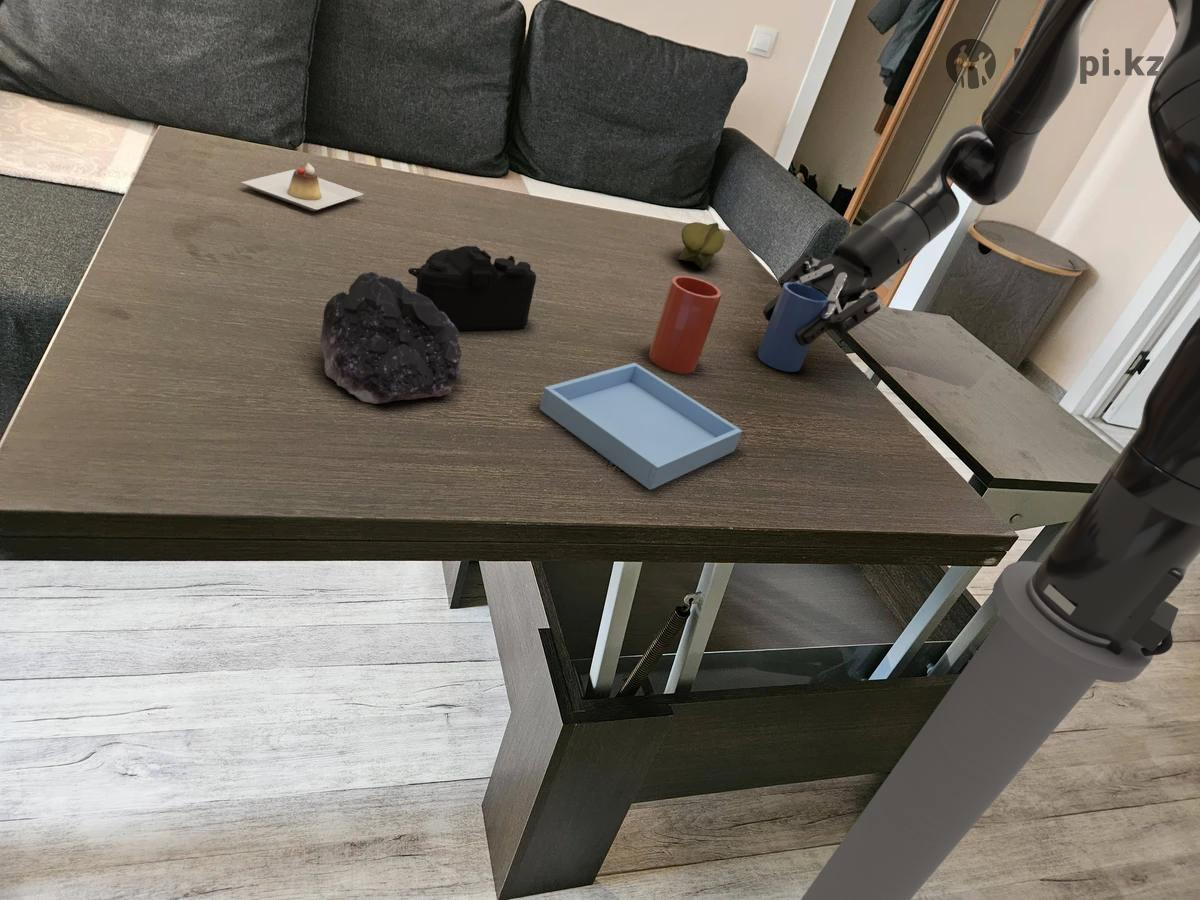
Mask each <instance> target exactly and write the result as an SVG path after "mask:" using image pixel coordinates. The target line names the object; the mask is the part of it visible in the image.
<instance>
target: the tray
mask: <svg viewBox="0 0 1200 900" xmlns="http://www.w3.org/2000/svg"><path fill="white" fill-rule="evenodd" d="M539 411H541V412H542V413H544V414H545V415H546V416H548V417H549V418H551V419H552V420H553V421H555V422H556V423H557V424H559V425H560V426H561V427H563V428H565V430H567V431H568V432H569V433H571V434H573V435H574V436H575V437H576V438H578V440H581V441H582V442H583V443H585V444H586V445H587V446H589V447H590V448H592V449H593V450H595V451H596V452H597V453H598V454H600V455H601V456H602V457H604V458H605V459H606V460H608V461H610V462H611V463H612V464H613V465H615V466H616V467H618V468H619V469H621V470H622V471H623V472H624V473H626V474H627V475H629V476H630V477H631V478H633V479H634V480H635V481H637V482H638V483H640V484H641V485H642V486H643V487H645V488H646V489H648V490H649V491H651V490H653V489H656V488H658V487H660V486H662V485H664V484H667V483H669V482H671V481H673V480H675V479H677V478H680V477H682V476H684V475H685V474H688V473H690V472H692V471H695V470H697V469H699V468H701V467H703V466H706V465H707V464H709V463H712V462H715V461H716V460H719V459H721V458H723V457H725V456H727V455H730V454H731V453H734V452H735V451H736V448H737V445H738V443H739V441H740V438H741V437H742V436H741V435H742V433H743V430H742V429H741V428H739V427H738V426H736V425H735V424H733V423H731V422H730V421H728V420H727V419H725V418H724V417H722V416H720V415H718V414H717V413H716V412H714V411H712V410H711V409H709V408H707V407H706V406H705V405H703V404H701V403H700V402H698V401H697V400H695V399H693V398H692V397H690V396H689V395H687V394H685V393H684V392H682V391H681V390H679V389H677V388H676V387H674V386H673V385H671V384H670V383H669V382H667V381H665V380H663V379H662V378H660V377H659V376H657V375H656V374H654V373H652V372H651V371H650V370H648V369H647V368H645V367H643V366H641V365H639V364H638V363H636V362H632V363H628V364H625V365H621V366H617V367H614V368H609V369H606V370H602V371H598V372H595V373H592V374H588V375H585V376H580V377H577V378H574V379H569V380H566V381H562V382H559V383H555V384H551V385H548V386H544V389H543V392H542V395H541V400H540V405H539Z"/></svg>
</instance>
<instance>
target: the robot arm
mask: <svg viewBox="0 0 1200 900" xmlns="http://www.w3.org/2000/svg"><path fill="white" fill-rule="evenodd" d="M1094 2H1095V0H1043V2H1042V4H1041V8H1040V10H1039V11H1038V14H1037V16H1036V19H1035V21H1034V23H1033V25H1032V28H1031V30H1030V33H1029V35H1028V37H1027V39H1026V40H1025V43H1024V44H1023V47H1022V48H1021V50H1020V51H1019V54H1018V56H1017V57H1016V59H1015V60H1014V62H1013V63H1012V65H1011V67H1010V68H1009V70H1008V71H1007V73H1006V74H1005V76H1004V78H1003V79H1002V80H1001V82H1000V84H999V85H998V87H997V88H996V90H995V91H994V93H993V95H992V96H991V98H990V99H989V100H988V102H987V104H986V105H985V107H984V109H983V111H982V113H981V117H980V118H981V119H980V122H981V123H980V124H975V123H973V124H968V125H964V126H963V127H960V128H959V129H958V130H956V131H955V132H953V134H951V136H949V138H948V140H947V141H946V142H945V144H944V145H943V146H942V148H941V150H940V151H939V152H938V154H937V155H936V157H935V159H934V160H933V162H931V164H930V165H929V167H928V168H927V169H926V170H925V172H924V173H923V174H922V175H921V176H920V178H919V179H918V180H916V182H915V183H914V184H912V185H911V186H910V187H909V188H908V189H907V190H906V191H904V192H903V193H902V194H900V195H899V197H897V198H896V199H895V200H894V201H892V202H891V203H890V204H889V205H887V206H885V207H884V208H882V209H881V210H879V211H878V212H876V213H875V214H874V215H872V217H870V218H868V220H866V221H865V222H864V223H863V224H861V226H859V227H858V228H857V229H855V230H854V231H853V232H852V233H851V234H849V235H848V236H847V237H845V239H843V240H842V241H841V242H840V243H839V244H837V246H836V248H835V250H834V252H833V253H832V254H831V256H829V257H826V258H823V259H822V260H821V259H817V258H814V257H813V254H812V252H811V251H806V252H804V253H803V254H802V255H801V256H800V257H799V258H798V259H797V260H796V261H795V262H794V263H793V264H792V265H791V266H790V267H789V268H788V269H787V270H786V271H785V272H784V273H783V274H782V275H781V276H780V277H779V278H778V284H779V286H780V289H781V290H782V287H783V285H784V283H786V282H797V283H801V284H804V285H808V286H810V284H811V287H813V288H815V289H816V290H818V291H820V292H822V293H823V294H824V295H825V296H827V301H828V303H827V305H826V306H825V308H824V309H823V311H822V313H821V317H818V316H816V317H815V318H814V319H812V320H811V321H810V322H809V323H808V324H806V325H805V326H804V327H803V328H802V329H800V330H799V331H798V332H797V333H796V335H795V337H796V340H797V342H798V344H800V345H801V346H805V345H806V344H807V345H808V344H810V343H811V344H812V343H814V342H815V341H816V340H817V339H818V338H820V337H821V336H822V335H823V334H825V333H826V332H827V331H832V330H835V331H838V333H839V334H840V335H841V334H842V335H843V334H846V333H848V332H849V331H851V330H852V329H853V328H855V327H857V326H859V324H861V323H863V322H864V321H865V320H867V319H868V318H871V316H873V315H874V314H876V313H877V312H879V311H880V310H881V304H880V298H879V297H878V293H877V292H876V291H875V290H876V289H878V288H879V287H881V285H883V284H884V283H885V282H886V281H888V279H890V278H891V277H893V275H895V274H896V273H897V272H898V271H899V270H900V269H902V268H904V266H905V265H907V264H908V263H909V262H910V261H912V260H913V259H914V258H915V257H916V256H917V255H919V253H920V252H921V251H922V250H923V248H925V246H927V245H928V244H929V243H930V242H932V241H933V240H934V239H935V238H937V236H939V235H940V234H942V232H944V231H946V229H947V228H948V227H949V226H951V225H952V224H953V223H954V222H955V221H956V220H957V218H958V217H959V214H960V211H961V210H960V209H961V208H960V202H959V199H958V197H957V195H956V193H955V192H954V190H953V189H952V187H951V185H950V183H949V182H948V180H949V181H951V182H952V183H953V184H954V185H955V186H956V187H957V188H959V190H961V191H962V192H963V193H964V194H966V196H967V197H968V198H969V199H971V200H972V201H973V202H974V203H976V204H978V205H980V206H993V205H996V204H999V203H1001V202H1002V201H1004V200H1006V199H1007V198H1008V197H1009V196H1010V195H1011V194H1012V193H1013V192H1014V191H1015V190H1016V189H1017V187H1018V185H1019V184H1020V183H1021V181H1022V179H1023V177H1024V174H1025V173H1026V169H1027V167H1028V165H1029V161H1030V158H1031V155H1032V153H1033V150H1034V149H1033V148H1034V147H1035V144H1036V142H1037V140H1038V137H1039V135H1040V133H1041V132H1042V131H1043V129H1044V128H1045V126H1046V125H1047V124H1048V123H1049V121H1051V119H1052V117H1053V116H1054V115H1055V114H1056V112H1057V111H1058V110H1059V109H1060V107H1061V106H1062V104H1063V103H1064V102H1065V101H1066V99H1067V97H1068V96H1069V94H1070V92H1071V90H1072V89H1073V86H1074V83H1075V81H1076V79H1077V75H1078V71H1079V62H1080V61H1079V60H1080V32H1081V25H1082V22H1083V19H1084V16H1085V15H1086V13H1087V11H1088V10H1089V8H1090V7H1091V5H1092V4H1093V3H1094ZM1167 2H1168V4H1169V7H1170V10H1171V13H1172V18H1173V22H1174V27H1175V35H1174V39H1173V41H1172V43H1171V46H1170V48H1169V49H1168V51H1167V53H1166V55H1165V57H1164V59H1163V61H1162V63H1161V65H1160V67H1159V69H1158V71H1157V73H1156V76H1155V78H1154V81H1153V83H1152V87H1151V89H1150V93H1149V96H1148V102H1147V114H1148V121H1149V125H1150V130H1151V133H1152V138H1153V140H1154V143H1155V148H1156V150H1157V154H1158V158H1159V161H1160V164H1161V166H1162V168H1163V171H1164V174H1165V176H1166V178H1167V180H1168V182H1169V184H1170V185H1171V187H1172V189H1173V190H1174V191H1175V193H1176V195H1177V196H1178V198H1179V199H1180V200H1181V201H1182V203H1183V204H1184V205H1185V206H1186V208H1187V209H1188V210H1189V212H1190V213H1191V214H1192V215H1193V217H1194V218H1195V219H1196V220H1197V222H1198V223H1199V224H1200V0H1167ZM779 295H780V293H779V294H778V295H776V296H775V297H774V298H773V299H772V300H770V301H769V302H768V303H767V304H766V305H765V306H764V309H763V311H762V313H763V315H764V318H765V320H766V321H768V322H769V321H770V319H771V316H772V313H773V311H774V308H775V306H776V303H777V300H778V298H779ZM853 302H854V303H853ZM850 303H852V304H850ZM849 304H850V305H849ZM1190 327H1191V328H1190V329H1189V330H1188V331H1187V333H1186V334H1185V336H1184V337H1183V339H1182V341H1181V342H1180V343H1179V345H1178V347H1177V348H1176V350H1175V352H1174V353H1173V355H1172V356H1171V357H1170V360H1169V361H1168V363H1167V365H1166V367H1165V368H1164V369H1163V371H1162V372H1161V374H1160V376H1159V377H1158V379H1157V381H1156V382H1155V384H1154V385H1153V387H1152V388H1151V390H1150V391H1149V393H1148V396H1147V397H1146V400H1145V402H1144V406H1143V408H1142V414H1141V420H1140V423H1139V426H1138V428H1137V429H1136V430H1135V432H1134V433H1133V435H1132V436H1131V438H1130V439H1129V441H1128V442H1127V443H1126V445H1125V446H1124V448H1123V449H1122V450H1121V452H1120V453H1119V455H1118V456H1117V458H1116V459H1115V460H1114V462H1113V463H1112V464H1111V466H1110V468H1108V471H1107V472H1106V473H1105V475H1104V476H1103V477H1102V478H1101V480H1100V481H1099V482H1098V484H1097V486H1096V487H1095V489H1094V490H1093V492H1092V493H1091V494H1090V496H1088V498H1087V500H1086V501H1085V502H1084V504H1083V506H1082V507H1080V509H1079V511H1078V512H1077V513H1076V515H1075V516H1074V518H1073V519H1072V521H1071V522H1070V523H1069V525H1068V526H1067V527H1066V529H1065V530H1064V532H1063V533H1062V535H1061V536H1060V537H1059V539H1058V540H1057V542H1055V545H1054V546H1053V547H1052V548H1051V550H1050V551H1049V553H1048V555H1047V556H1046V557H1045V558H1044V560H1043V561H1042V562H1041V563H1042V564H1041V565H1040V566H1039V568H1038V569H1037V571H1036V572H1035V573H1034V574H1033V575H1032V576H1031V578H1030V579H1029V581H1028V582H1027V585H1026V591H1027V594H1028V597H1029V598H1030V600H1031V602H1032V603H1033V605H1034V606H1035V607H1036V608H1037V610H1038V611H1039V612H1040V613H1041V614H1042V615H1043V616H1044V617H1046V618H1047V619H1048V620H1049V621H1050V622H1052V623H1053V624H1054V625H1055V626H1057V627H1058V628H1060V629H1061V630H1063V631H1064V632H1066V633H1068V634H1069V635H1071V636H1073V637H1075V638H1077V639H1079V640H1081V641H1084V642H1086V643H1089V644H1092V645H1095V646H1098V647H1103V648H1106V649H1108V650H1110V651H1111V652H1113V653H1114V654H1116V655H1119V654H1120V653H1121V652H1122V651H1123V650H1124V648H1125V647H1126V646H1127V645H1128V644H1129V642H1130V641H1131V640H1133V641H1135V642H1136V643H1138V644H1140V645H1141V646H1143V648H1141V652H1142V654H1143V655H1144V656H1152V655H1153V656H1160V655H1164V654H1165V653H1167V652H1168V651H1170V650H1171V649H1172V647H1173V644H1174V640H1173V639H1174V638H1173V634H1172V628H1173V626H1174V623H1175V620H1176V617H1177V615H1178V612H1179V610H1180V609H1179V607H1176V606H1175V605H1173V604H1171V603H1170V602H1168V601H1166V600H1167V599H1168V598H1169V596H1170V595H1172V593H1173V592H1174V591H1175V589H1176V588H1177V587H1178V586H1179V584H1181V583H1182V582H1183V580H1184V578H1185V575H1186V573H1187V570H1188V569H1189V567H1190V566H1191V565H1192V564H1193V562H1195V560H1197V558H1198V556H1199V555H1200V316H1199V317H1198V318H1197V319H1196V321H1195V322H1194V323H1193V324H1192V326H1190Z"/></svg>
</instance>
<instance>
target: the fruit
mask: <svg viewBox="0 0 1200 900" xmlns="http://www.w3.org/2000/svg"><path fill="white" fill-rule="evenodd" d="M681 241H682V243H683V245H684V247H683V248H682V250H681V252H680V254H679V257H678V260H681V261H686V262H693V263H694V264H695V265H697V267H698V268H700V269H701V270H704V269H705V268H706V267H707V266H709V264H710V263H711V261H712V259H713V257H714V256H715V254H717V253H719V252H720V251H721V250H722V249H723V246H724V243H725V234H724V233H723V232H722V231H721V229H720V227H719V223H718V222H713V223H708V224H707V223H703V222H698V221H695V222H690V223H687V224H685V225H684V227H683V228H682V229H681Z"/></svg>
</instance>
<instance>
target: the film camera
mask: <svg viewBox="0 0 1200 900" xmlns="http://www.w3.org/2000/svg"><path fill="white" fill-rule="evenodd" d="M491 260H492V256H491V255H490V254H489V253H488V252H487V251H486V250H481V248H479V247H478V246H477V245H464V246H460V247H457V248H454V249H448V248H447V249H441V250H439V251H435V252H433V253H431V255H430V256H429V257H428V258H427V259H426V260H425V263H424V264H422V265H421V266H420V267H417V268H416V267H411V268H408V270H407V272H408V274H409V275H411V276H412V277H415V278H416V290H415V292H417V293H420V294H422V295H424V296H425V297H428V298H429V299H430V300H431V301H432V302H433V303H434V305H435V306H436V307H437V309H438V310H439V311H442V312H444V313H445V314H446V315H447V317H448V318H449V320H450V322H452V323H453V324H454V325H455V326H456V328H457V330H458V332H461V331H462V332H463V331H464V332H465V331H468V332H469V331H499V330H502V331H503V330H516V329H517V330H518V329H523V328H525V327H526V326H527V324H528V321H529V315H530V308H531V304H532V300H533V296H534V290H535V286H536V284H537V283H536V282H537V274H536V272H535V271H533V270H532V269H531V264H530V263H529V262H526V261H519V262H517V264H515V263H516V259H515V256H513V255H509V257H507V258H503V257H497V258H495V259H494V262H493V263H492V261H491Z"/></svg>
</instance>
